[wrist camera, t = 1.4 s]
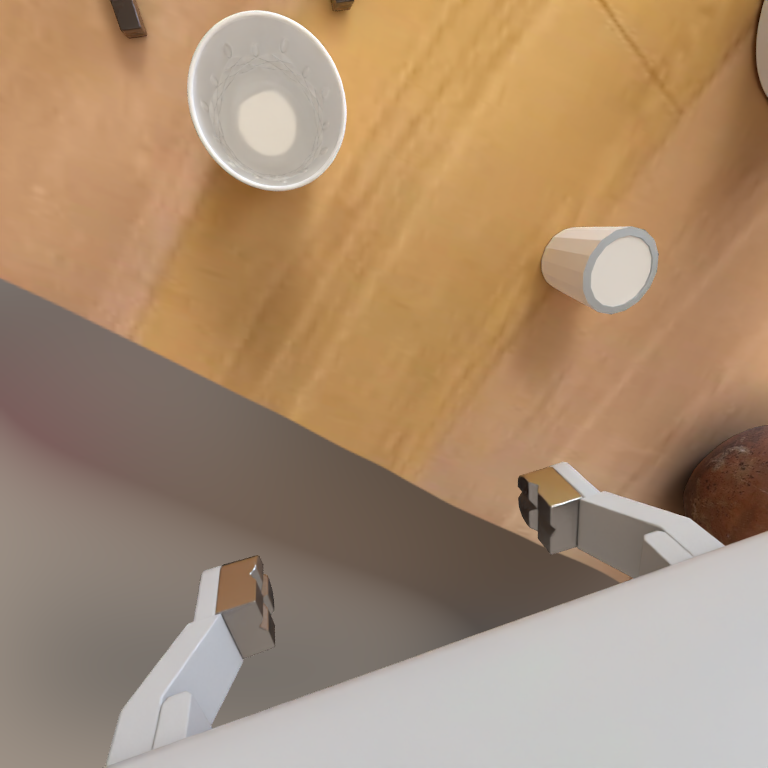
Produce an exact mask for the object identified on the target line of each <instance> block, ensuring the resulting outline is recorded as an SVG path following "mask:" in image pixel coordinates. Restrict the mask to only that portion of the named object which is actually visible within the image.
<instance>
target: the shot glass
mask: <svg viewBox="0 0 768 768" xmlns="http://www.w3.org/2000/svg"><path fill="white" fill-rule="evenodd" d="M658 255H659V254H658V251H657V247H656V243H655V240H654V239H653V238H652V237H651V236H650V235H649V234H648V233H647V232H646V230H643V229H639V228H636V227H632V226H628V227H573V228H569V229H564V230H562V231H561V232H559V233H558V234H557V235H555V236H554V237H553V238H552V239H551V241H550V242H549V243H548V245H547V246H546V248H545V251H544V254H543V257H542V273H543V276H544V278H545V280H546V282H547V283H549V284H550V285H551V286H552V287H554V288H555V289H557V290H559V291H561V292H563V293H564V294H566V295H568V296H570V297H572V298H574V299H575V300H577V301H579V302H581V303H583V304H584V305H586V306H588V307H590V308H592V309H594V310H595V311H597V312H601V313H607V314H614V313H618V312H622V311H625V310H627V309H628V308H630V307H631V306H633V305H634V304H635V303H637V302H638V301H639V300H640V299H641V298H642V297H643V295H644V294H645V293H646V292H647V290H648V289H649V288H650V286H651V284H652V281H653V279H654V277H655V274H656V272H657V265H658Z"/></svg>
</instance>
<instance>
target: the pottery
mask: <svg viewBox="0 0 768 768" xmlns="http://www.w3.org/2000/svg"><path fill="white" fill-rule="evenodd" d="M683 503H684V511H685V517H687V518H690V519H691V520H693V521H694V522H695V523H697V524H698V525H699V526H700V527H702V528H703V529H704V530H705V531H707V532H708V533H709V534H711V535H712V536H713V537H714V538H716V539H717V540H718V541H719V542H721V543H722V544H723V545H725V546H727V545H729V544H732V543H735V542H738V541H741V540H743V539H746V538H749V537H752V536H755V535H757V534H760V533H763V532H766V531H768V425H764V426H759V427H755V428H751V429H748V430H746V431H743V432H741V433H739V434H736V435H734V436H733V437H731V438H729V439H728V440H726V441H725V442H723V443H722V444H720V445H719V446H718V447H716V448H715V449H714V450H713V451H712V452H711V453H709V454H708V455H707V456H706V457H705V458H704V459H703V460H702V461H701V462H700V463H699V465H698V466H697V467H696V468H695V470H694V471H693V473H692V475H691V476H690V478H689V480H688V482H687V485H686V487H685V490H684V495H683Z"/></svg>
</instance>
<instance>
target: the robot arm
mask: <svg viewBox="0 0 768 768" xmlns="http://www.w3.org/2000/svg"><path fill="white" fill-rule="evenodd" d="M756 62H757V70H758V75H759V79H760V82H761V85H762V88H763V90H764V92H765V94H766V96H767V97H768V0H764V3H763V7H762V11H761V15H760V19H759V25H758V31H757V40H756ZM518 487H519V488H520V489H521V491H522V493H521V494H520V496H519V498H518V500H519V508H520V511H521V514H522V517H523V519H524V520H525V522H526V523H527V525H528V526H529V527H530V528H532V529H534V530H536V531H538V539H539V540H540V542H541V543H542V544H543V545H544V547H545V548H546V549H547V550H548V552H549V553H550V554H554V553H558V552H561V551H564V550H568V549H571V548H574V547H577V548H578V549H580V550H582V551H584V552H586V553H588V554H589V555H591V556H593V557H595V558H597V559H599V560H601V561H602V562H604V563H606V564H608V565H610V566H612V567H614V568H616V569H617V570H619V571H621V572H623V573H625V574H627V575H629V576H630V577H632V578H634V579H631V580H628V581H626V582H623V583H620V584H617V585H615V586H612V587H609V588H606V589H603V590H600V591H598V592H595V593H592V594H589V595H586V596H583V597H581V598H578V599H575V600H572V601H569V602H567V603H564V604H561V605H558V606H555V607H552V608H550V609H547V610H544V611H541V612H538V613H536V614H533V615H530V616H527V617H524V618H521V619H519V620H516V621H513V622H510V623H508V624H505V625H502V626H499V627H496V628H493V629H491V630H488V631H485V632H482V633H479V634H477V635H474V636H471V637H468V638H466V639H462V640H460V641H457V642H454V643H451V644H448V645H446V646H443V647H440V648H437V649H435V650H432V651H429V652H426V653H423V654H421V655H418V656H415V657H412V658H410V659H406V660H403V661H401V662H398V663H395V664H392V665H390V666H387V667H384V668H381V669H379V670H376V671H373V672H370V673H367V674H364V675H361V676H359V677H356V678H353V679H350V680H347V681H345V682H342V683H339V684H336V685H333V686H331V687H328V688H325V689H322V690H319V691H316V692H314V693H311V694H308V695H305V696H302V697H300V698H297V699H294V700H291V701H288V702H286V703H283V704H280V705H277V706H274V707H272V708H269V709H266V710H263V711H260V712H257V713H255V714H252V715H249V716H246V717H243V718H241V719H238V720H235V721H232V722H229V723H227V724H224V725H221V726H218V727H215V728H213V729H212V727H211V725H212V723H213V721H214V719H215V717H216V715H217V713H218V711H219V709H220V707H221V705H222V703H223V701H224V699H225V697H226V695H227V693H228V691H229V689H230V687H231V685H232V683H233V681H234V679H235V677H236V675H237V673H238V671H239V669H240V667H241V665H242V663H243V659H244V658H247V657H249V656H253V655H255V654H258V653H261V652H263V651H266V650H269V649H272V648H274V647H275V625H274V622H273V620H272V617H271V615H272V613H273V612H274V599H273V592H272V587H271V584H270V581H269V578H268V576H267V575H265V574H263V563H262V561H261V559H260V556H258V555H257V556H253V557H249V558H246V559H243V560H238V561H235V562H232V563H228V564H224V565H222V566H219V567H215V568H211V569H208V570H204V571H203V573H202V574H201V578H200V584H199V590H198V596H197V602H196V608H195V614H194V620H193V622H192V623H189V624H187V626H186V627H185V628H184V629H183V631H182V632H181V633H180V634H179V636H178V637H177V638H176V640H175V641H174V642H173V644H172V645H171V646H170V648H169V649H168V651H166V653H165V654H164V656H163V657H162V658H161V659H160V660H159V662H158V663H157V664H156V666H155V667H154V669H153V670H152V671H151V673H149V675H148V676H147V677H146V679H145V680H144V681H143V683H142V684H141V685H140V686H139V688H138V689H137V690H136V692H135V693H134V694H133V696H132V697H131V698H130V700H129V701H128V703H126V705H125V706H124V707H123V709H122V710H121V711H120V715H119V718H118V722H117V725H116V730H115V733H114V736H113V740H112V743H111V747H110V751H109V754H108V758H107V762H106V765H105V767H103V768H768V531H766V532H763V533H760V534H757V535H755V536H752V537H749V538H746V539H743V540H741V541H738V542H735V543H732V544H729V545H727V546H725V545H723V544H722V543H721V542H719V541H718V540H717V539H716V538H714V537H713V536H712V535H711V534H709V533H708V532H707V531H705V530H704V529H703V528H702V527H700V526H699V525H698V524H697V523H695V522H694V521H693V520H691V519H690V518H687V517H684V516H681V515H678V514H675V513H672V512H669V511H666V510H662V509H659V508H656V507H653V506H650V505H647V504H644V503H640V502H637V501H634V500H631V499H628V498H625V497H622V496H619V495H615V494H612V493H609V492H606V491H603V492H599V491H598V490H597V489H596V488H595V487H594V486H593V485H592V484H590V483H589V482H588V481H587V480H586V479H585V478H584V477H583V476H582V475H580V474H579V473H578V472H577V471H576V470H575V469H574V468H573V467H572V466H570V465H569V464H568V463H566V462H561V463H558V464H555V465H551V466H549V467H546V468H543V469H539V470H536V471H533V472H530V473H527V474H523V475H520V476H519V478H518Z"/></svg>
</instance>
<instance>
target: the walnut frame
mask: <svg viewBox="0 0 768 768" xmlns="http://www.w3.org/2000/svg"><path fill="white" fill-rule="evenodd" d="M110 1H111V4H112V6H113V9H114V12H115V15H116V18H117V21H118V24H119V27H120V30H121V31H122V32H123V33H124V34H125V35H126V36H127V37H128V38H134V37H142V36H147V33H146V30H145V26H144V23H143V20H142V17H141V14H140V11H139V8H138V5H137V2H136V0H110ZM353 2H354V0H331V3H332V9H333V11H341V10H348V9H350V8H351V6H352V4H353Z"/></svg>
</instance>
